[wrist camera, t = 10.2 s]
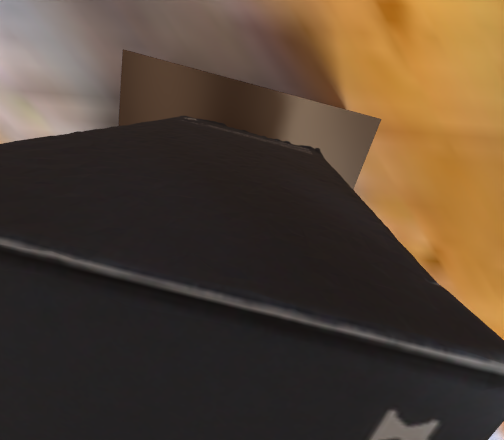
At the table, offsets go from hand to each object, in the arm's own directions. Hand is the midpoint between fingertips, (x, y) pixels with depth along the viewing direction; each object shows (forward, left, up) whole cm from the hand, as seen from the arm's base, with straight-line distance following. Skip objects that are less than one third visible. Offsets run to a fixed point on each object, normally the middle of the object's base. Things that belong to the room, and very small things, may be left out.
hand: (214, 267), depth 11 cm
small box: (0, 0, -2) cm, 2 cm away
